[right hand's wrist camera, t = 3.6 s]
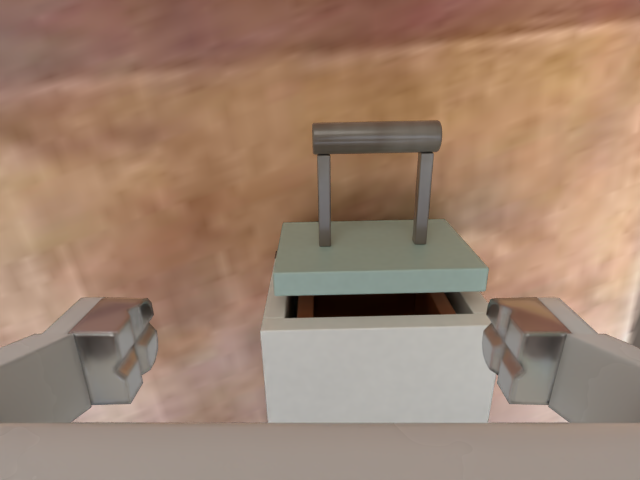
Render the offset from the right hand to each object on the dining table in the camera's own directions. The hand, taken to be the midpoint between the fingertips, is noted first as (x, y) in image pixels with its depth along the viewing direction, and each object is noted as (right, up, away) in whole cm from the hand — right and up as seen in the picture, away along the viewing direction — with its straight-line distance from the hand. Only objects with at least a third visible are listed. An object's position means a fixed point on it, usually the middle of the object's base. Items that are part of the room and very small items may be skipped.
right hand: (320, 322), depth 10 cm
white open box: (+3, -7, +20) cm, 21 cm away
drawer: (+3, -2, +16) cm, 17 cm away
